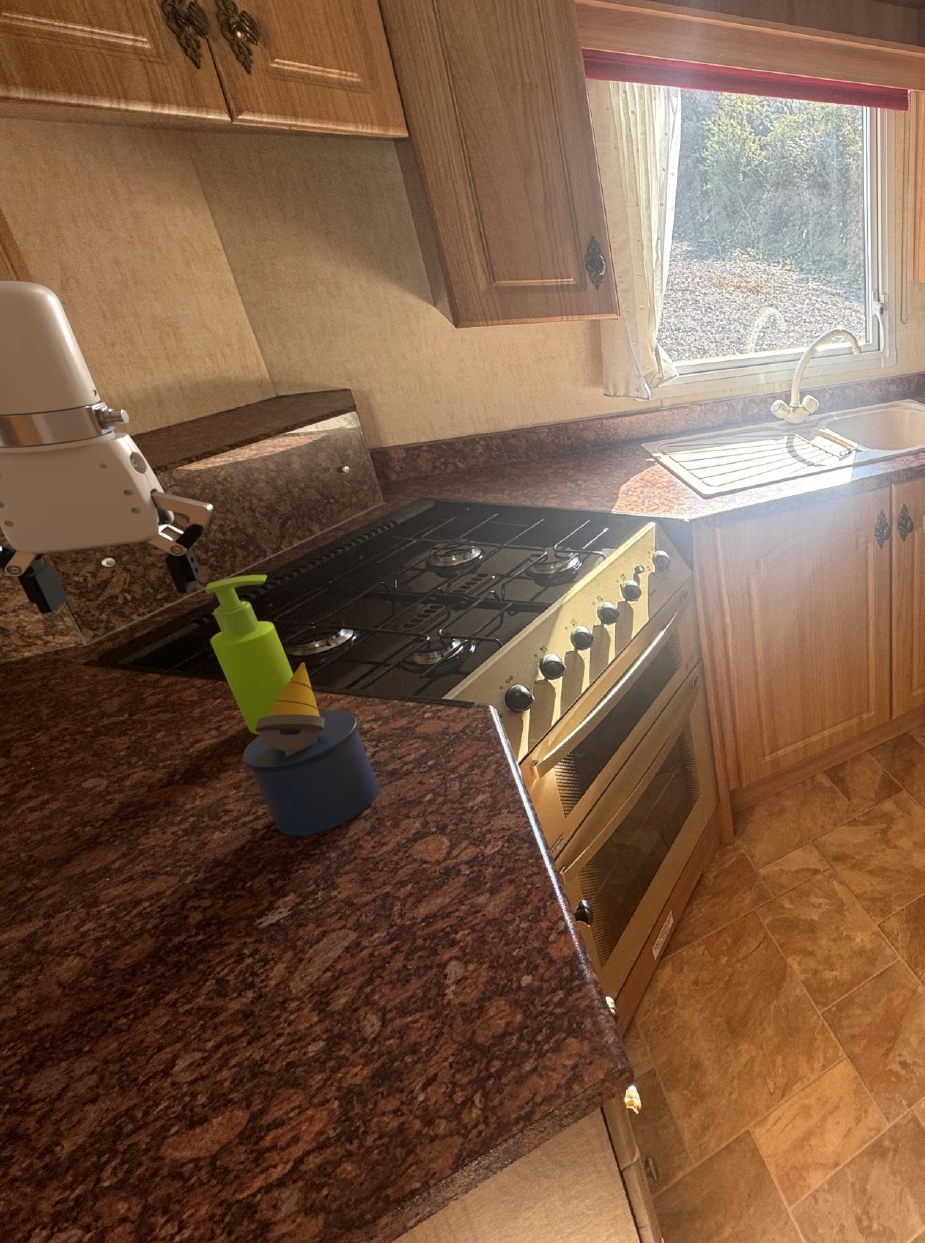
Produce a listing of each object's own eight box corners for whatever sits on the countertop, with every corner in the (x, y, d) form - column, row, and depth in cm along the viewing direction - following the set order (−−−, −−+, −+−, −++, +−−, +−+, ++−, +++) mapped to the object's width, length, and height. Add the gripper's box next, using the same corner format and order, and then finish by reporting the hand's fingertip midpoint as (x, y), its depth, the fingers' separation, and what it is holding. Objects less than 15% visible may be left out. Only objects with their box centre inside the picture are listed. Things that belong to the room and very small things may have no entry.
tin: (263, 850, 76) (230, 778, 72) (285, 793, 83) (256, 725, 80) (374, 817, 80) (348, 748, 76) (385, 766, 87) (362, 701, 84)
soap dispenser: (316, 721, 95) (261, 583, 87) (245, 740, 92) (182, 598, 84) (319, 699, 100) (267, 565, 92) (252, 716, 96) (193, 579, 88)
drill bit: (246, 763, 75) (266, 667, 79) (314, 761, 78) (330, 670, 82) (252, 752, 71) (272, 653, 75) (322, 751, 75) (339, 656, 79)
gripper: (191, 410, 73) (249, 567, 79) (-68, 426, 65) (19, 599, 72) (162, 427, 67) (226, 596, 73) (-129, 447, 59) (-27, 633, 65)
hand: (124, 597), depth 72 cm, fingers open, 9 cm apart
